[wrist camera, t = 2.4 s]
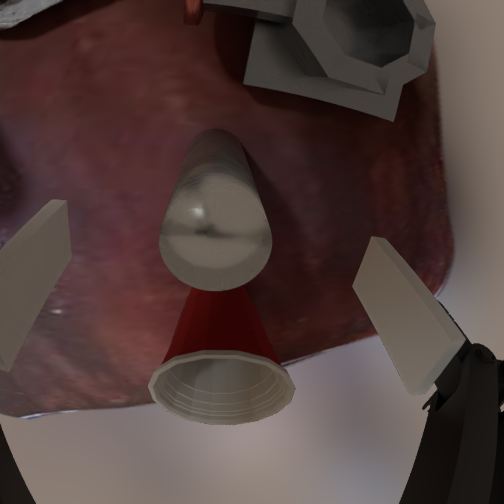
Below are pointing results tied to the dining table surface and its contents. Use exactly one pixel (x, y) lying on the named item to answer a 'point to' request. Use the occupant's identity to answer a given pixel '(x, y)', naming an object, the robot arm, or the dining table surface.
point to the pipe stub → (215, 217)
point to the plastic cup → (221, 363)
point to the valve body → (333, 47)
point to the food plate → (21, 10)
